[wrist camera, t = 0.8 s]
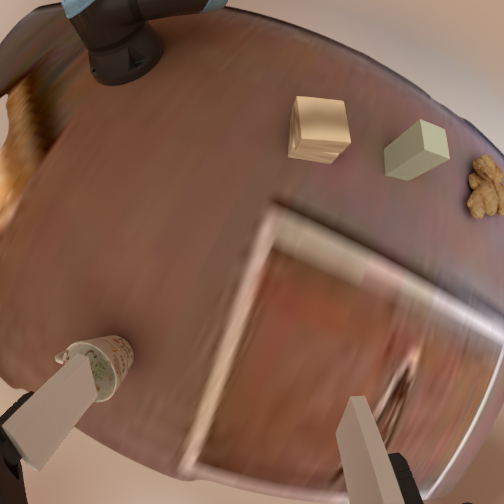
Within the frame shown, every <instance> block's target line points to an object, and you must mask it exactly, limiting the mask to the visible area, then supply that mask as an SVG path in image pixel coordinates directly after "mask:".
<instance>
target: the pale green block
mask: <svg viewBox="0 0 504 504" xmlns="http://www.w3.org/2000/svg"><path fill="white" fill-rule="evenodd" d="M449 159H450V157H449V150H448V144H447V138H446V133H445V129H443V128H440V127H438V126H436V125H433V124H431V123H428V122H426V121H423V120H421V119H420V120H418V121H417V122H416V123H415V124H414V125H412V126H411V127H410V128H409V129H408V130H406V131H405V132H404V133H403V134H402V135H400V136H399V137H398V138H397V139H395V140H394V141H393V142H392V143H391V144H389V145H388V146H387V147H386V148H385V149H384V162H385V175H386V176H390V177H394V178H398V179H402V180H406V181H410V180H411V179H413V178H415V177H417V176H419V175H421V174H423V173H425V172H427V171H428V170H430V169H432V168H434V167H436V166H438V165H440V164H442V163H443V162H445V161H447V160H449Z"/></svg>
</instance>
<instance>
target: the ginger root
mask: <svg viewBox="0 0 504 504" xmlns="http://www.w3.org/2000/svg"><path fill="white" fill-rule="evenodd" d="M472 165H473V168H474V169H475V171H476V172H477V173H472V174H470V175H469V177H468V179H469V184H470V187H471V188H472V189H473V190H474V191H473V192H472V194H471V195H470V198H469V200H468V201H467V206H468V208H469V210H470V213H471V215H472V216H473V217H474V218H475V219H478V218H480V219H483V218H484V215H485V214H487V215H489V216H493V215H495V214H496V212H497V213H498V215H499V216H503V215H504V186H503V184H502V185H501V182H502V178H504V175H503V172H502V170H501V169H500V168H499V167H498V166H497V165H496V163H495V162H494V161H493V160H492V156H487V155H482V156H481V157H480V159H476V160H475V161H474V162H473V164H472Z"/></svg>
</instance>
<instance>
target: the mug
mask: <svg viewBox="0 0 504 504" xmlns="http://www.w3.org/2000/svg"><path fill="white" fill-rule="evenodd" d="M77 353H78V354H81V355H84V356H87V357H89V362H90V366H91V370H92V375H93V379H94V383H95V387H96V390H97V394H98V396H97V398H96V399H95V400H94V402H103V401H106V400H108V399H110V398H111V397H112V396H113V395H114V393H115V392H116V390H117V389H118V387H119V385H120V384H121V382H122V381H123V379H124V377H125V376H126V374H127V372H128V371H129V369H130V367H131V366H132V364H133V360H134V354H133V350H132V348H131V346H130V345H129V343H128V342H127V341H126V340H125V339H123V338H122V337H120V336H116V335H110V336H105V337H99V338H94V339H89V340H83V341H78V342H75V343H73V344H72V345H70V346H69V347H68V348H67V350H66V351H63V352H60V353H58V354H57V355H56V356H55V360H56V361H57V362H58V363H61V364H63V366H64V365H65V364H66V363H67V362H68V361H70V360H71V359H72V358H73V357H74V356H75V355H76V354H77Z"/></svg>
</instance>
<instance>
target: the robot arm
mask: <svg viewBox="0 0 504 504" xmlns="http://www.w3.org/2000/svg"><path fill="white" fill-rule="evenodd" d="M227 2H228V0H62V6H63V8H64V11H65V13H66V17H67V18H68V19H69V20H70V22H71V23H72V25H73V27H74V28H75V30H76V31H77V33H78V35H79V36H80V38H81V39H82V41H83V43H84V44H85V46H86V47H87V49H88V54H89V63H90V70H91V72H92V74H93V76H94V77H95V79H96V80H97V81H98V82H99V83H101V84H104V85H110V86H113V85H120V84H124V83H127V82H130V81H133V80H135V79H137V78H139V77H140V76H142V75H144V74H145V73H147V72H148V71H149V70H150V69H151V68H153V67H154V66H155V64H156V63H157V62H158V61H159V59H160V58H161V56H162V53H163V43H162V39H161V37H160V35H159V33H158V32H156V31H155V30H154V28H153V27H152V26H151V25H150V24H149V23H148V22H147V21H148V20H153V19H159V18H165V17H171V16H179V15H187V14H196V13H197V14H200V13H203V12H209V11H216V10H220V9H222V8H223V7H224V6H225V5H226V3H227ZM97 396H98V394H97V390H96V387H95V383H94V379H93V375H92V370H91V366H90V362H89V357H87V356H84V355H81V354H78V353H77V354H76V355H75V356H74V357H73V358H72V359H71V360H70V361H68V362H67V363H66V364H65V365H64V366H63V367H62V368H61V369H60V370H59V371H58V372H57V373H55V374H54V375H53V376H52V377H51V378H50V379H49V380H48V381H47V382H46V383H45V384H44V385H43V386H42V387H41V388H40V389H38V390H37V391H36V392H35V393H34V392H33V391H31V392H29V393H26V394H24V395H23V396H22V397H21V398H20V399H18V401H17V402H15V403H14V404H13V406H11V407H10V408H9V409H8V410H7V411H6V412H5V413H4V414H3V415H2V416H1V417H0V504H28V503H27V498H26V493H25V487H24V480H23V473H22V465H21V462H20V460H21V458H23V460H24V461H25V462H26V464H27V465H28V466H30V467H31V468H32V469H34V470H36V471H37V472H40V471H41V469H42V468H43V466H44V465H45V464H46V462H47V461H48V460H49V458H50V457H51V456H52V454H53V453H54V452H55V450H56V449H57V448H58V446H59V445H60V444H61V442H62V441H63V440H64V439H65V437H66V436H67V435H68V433H69V432H70V431H71V429H72V428H73V427H74V426H75V424H76V423H77V422H78V420H79V419H80V418H81V417H82V415H83V414H84V413H85V411H86V410H87V409H88V408H89V406H90V405H91V404H92V403H93V401H94V400H95V399H96V398H97ZM336 438H337V442H338V447H339V452H340V456H341V461H342V466H343V471H344V476H345V480H346V486H347V491H348V496H349V501H350V504H423V501H422V499H421V496H420V493H419V491H418V488H417V486H416V483H415V480H414V478H413V477H412V476H413V475H412V473H411V471H410V468H409V465H408V463H407V461H406V459H405V458H404V457H403V456H402V455H401V454H400V453H393V454H387V451H386V449H385V446H384V443H383V441H382V438H381V436H380V433H379V430H378V428H377V425H376V423H375V420H374V418H373V415H372V412H371V410H370V407H369V405H368V403H367V400H366V398H365V396H350V398H349V401H348V404H347V406H346V409H345V412H344V414H343V417H342V419H341V421H340V424H339V426H338V429H337V431H336ZM463 504H472V503H463Z"/></svg>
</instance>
